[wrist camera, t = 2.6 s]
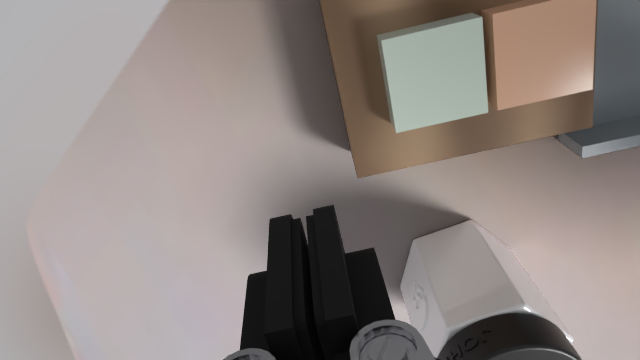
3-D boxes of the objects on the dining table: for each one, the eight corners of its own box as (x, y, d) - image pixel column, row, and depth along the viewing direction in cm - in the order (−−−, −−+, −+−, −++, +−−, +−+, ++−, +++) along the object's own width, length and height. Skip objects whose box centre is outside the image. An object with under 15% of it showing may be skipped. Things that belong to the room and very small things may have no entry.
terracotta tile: (578, -13, 24) (596, -11, 22) (576, 81, 26) (592, 89, 25) (481, 10, 24) (492, 14, 23) (487, 101, 26) (497, 110, 25)
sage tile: (471, 12, 24) (482, 16, 23) (478, 103, 26) (488, 112, 25) (376, 35, 25) (381, 40, 23) (390, 123, 27) (396, 133, 25)
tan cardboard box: (560, -80, 26) (601, -84, 22) (558, 106, 31) (592, 127, 27) (314, -20, 27) (317, -14, 23) (351, 152, 32) (357, 178, 28)
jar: (416, 212, 34) (470, 334, 23) (522, 223, 35) (620, 346, 24) (390, 306, 38) (426, 448, 27) (486, 315, 39) (557, 455, 28)
